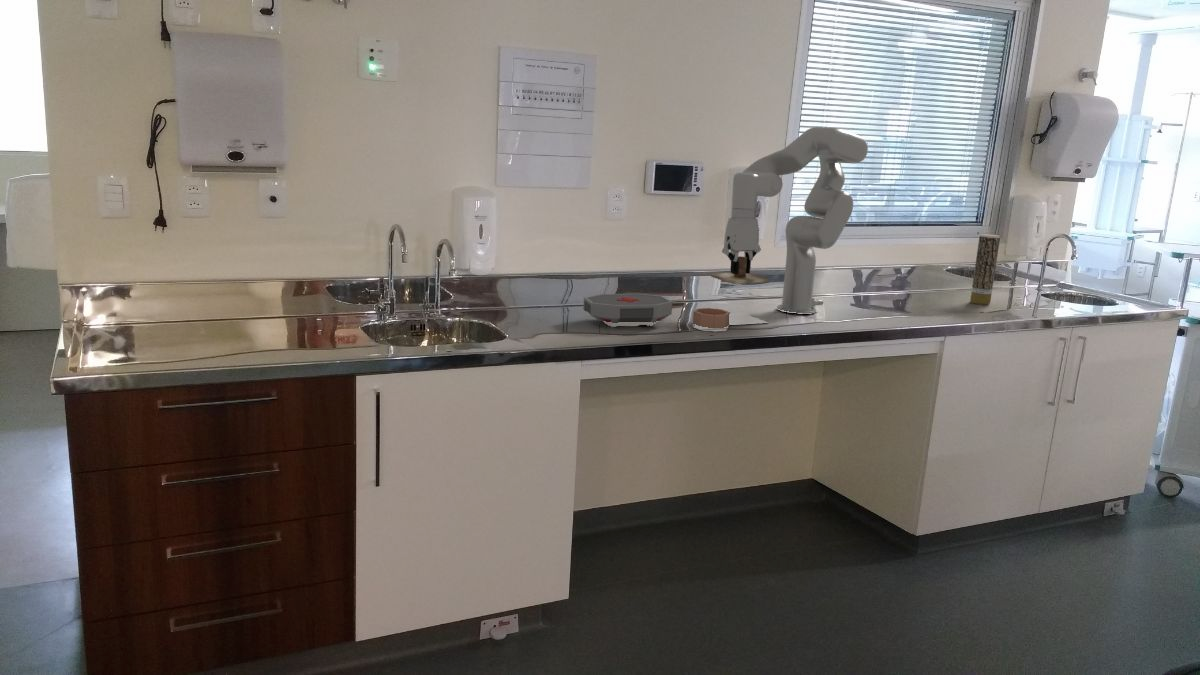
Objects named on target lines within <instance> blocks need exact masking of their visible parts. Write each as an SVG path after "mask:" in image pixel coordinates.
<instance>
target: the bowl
mask: <svg viewBox="0 0 1200 675" xmlns="http://www.w3.org/2000/svg"><path fill="white" fill-rule="evenodd" d="M730 313H731V311H728V310H725V309H722V308H721V309H720V308H711V307H701V308H696V309H695V310H693V314H692V316H693V317H692V325H693V324H696V325H698V326H702V327H708V328H724V327H727V326H728V325H729V314H730Z"/></svg>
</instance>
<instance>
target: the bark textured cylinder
mask: <svg viewBox="0 0 1200 675" xmlns="http://www.w3.org/2000/svg"><path fill="white" fill-rule="evenodd" d="M1000 240H1001V235H998V234H992V233H991V234H988V233H981V234H979V237H978V245H977V251H976V259H975V263H974V264H975V266H974V271H973V278H972V286H971V293H970V300H969V301H970V302H971V304H974V305H979V304H980V306H981V305H982V306H987V305H988V306H989V305H990V304H991V299H992V295H993V287H994V281H995V280H994V279H995V273H996V267H997V263H998V262H997V261H998V253H999V247H1000Z"/></svg>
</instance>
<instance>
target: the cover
mask: <svg viewBox="0 0 1200 675" xmlns="http://www.w3.org/2000/svg"><path fill="white" fill-rule="evenodd" d="M737 261H738V262H739V268H738V274H733V273H731V272H724V273H723V272H721V273H711V274H710V278H714V279H717V280H720V281H723V282H726V283H728V284H732V285H740V284H741V285H742V284H753V283H754V284H756V283H768V282H770V278H767V277H764V276H761V275H759V274H754V273H749V274H747V273H746V267H747V257H745V256H739V255H738V259H737Z"/></svg>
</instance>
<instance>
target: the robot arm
mask: <svg viewBox="0 0 1200 675" xmlns="http://www.w3.org/2000/svg"><path fill="white" fill-rule="evenodd" d="M868 151H869V147H868V143H867V141H866V140H865V138H863V137H862V136H859V135H857V134H854V133H853V132H852V133H851V132H850V131H847V130H844V129H841V128H837V127H823V126H822V127H821V126H820V127H819V126H815V127H810V128H808V129H807V130H805V131H804V132H802V134H800V135H799V136H798V137H797V138H795V139H794V140H793V141H791V143H789V144H788V145H787V146H786V147H785V148H783V149H781V150H778V151H775V152H772V153H771V154H768V155H765V156H763V157H761V158H758V159H757V160H756V161H754V162H753V163H751V164H750V165H749V166H748V167H746V168H745V169H744V170H743V171H742V172H737V173H735V174H734V175H733V178H732V179H733V182H732V196H731V197H732V198H731V215H730V217H729V218H728V220H727V223H726V227H725V231H724V232H725V233H724V242H723V248H722V250H721V253H723V254H724V255H725V256H727V258H728V260H729V261H730V273H733V274H738V268H739V262H738V261H737V259H738V256H739V253H740V252H743V253H744V254H743V256H744V257H747V267H746V273H747V274H749V273H750V272H751V262H752V261H753V260H754V257H755V256H756V255H757V254H758V253H760V252H761V251H762V249H761V245H760V244H759V243H760V240H759V238H760V232H759V231H760V230H759V229H760V228H759V220H758V219H759V218H757V215H759V214H760V210H759V209H758V208H757V207H758V197H764V198H765V197H766V198H772V197H775V196H776V195H779V193H780V192H781V191H782V189H783V184H784V183H783V180H782V178H781V177H780V176H786V175H790V174H795V173H797V172H800V171H801V170H803V169H804V168H805V167H806V166H808V164H810V163H811V162H812V161H813V160H814V159H815V158H817V157H818V160H819V166H820V172H819V175H818V177H817V180H815V183H814V185H813V186H812V189H811V190H810V192H809V193H808V195H807V197H806V200H805V202H804V206H803V209H804V211H805V213H806V214H807V215H796V216H793V217H792V218H790V219H789V220H788V222H787V223H786V227H785V239H786V240H785V241H786V256H785V257H786V258H785V268H784V269H785V271H784V277H783V278H784V279H783V289H782V291H783V292H782V299H781V300H782V301H781V304H779V305H777V306H776V309H777V308H778V309H780V310H784V311H789V312H796V313H813V312H815V313H816V308H815V307H816V306H823V304H824V300H823V299H815V298H813V293H814V282H815V272H816V263H817V257H816V253H815V250H814V248H816V249H823V250H825V249H826V250H827V249H830V248H832V247H833V246H834V245H835V244H836V242H837V241H838V240H839V237H840V235H841V234H842V232H843V230H844V229H845V227H846V225H847V223H848V221H849V219H850V218H851V215H852V213H853V209H854V199H853V197H852V195H851V194H850V193H849V192H847V191H845V190H843V189H842V188H843V187H844V185H845V183H846V177H845V173H844V171H843V166H842V164H854V165H855V164H859V163H861V162H862V161H864V160H865V159H866V156H867V155H868Z"/></svg>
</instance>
